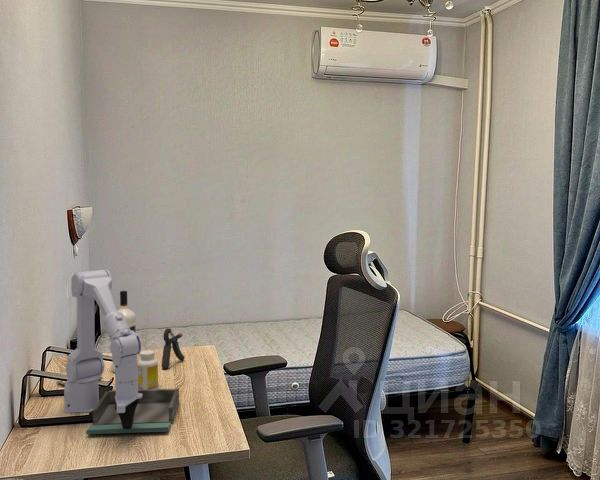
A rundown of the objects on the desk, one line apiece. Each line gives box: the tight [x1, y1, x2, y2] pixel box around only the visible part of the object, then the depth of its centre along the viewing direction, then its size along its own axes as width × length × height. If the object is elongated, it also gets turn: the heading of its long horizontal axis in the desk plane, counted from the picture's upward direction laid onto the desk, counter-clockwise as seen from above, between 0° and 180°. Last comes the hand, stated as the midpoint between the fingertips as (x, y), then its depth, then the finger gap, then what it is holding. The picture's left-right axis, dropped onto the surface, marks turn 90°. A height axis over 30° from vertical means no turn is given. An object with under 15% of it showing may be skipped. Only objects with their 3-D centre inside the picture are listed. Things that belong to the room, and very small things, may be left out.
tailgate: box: [85, 423, 172, 435], centre depth 147 cm, size 22×1×6 cm
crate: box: [92, 388, 180, 425], centre depth 159 cm, size 22×15×5 cm
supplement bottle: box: [137, 349, 159, 390], centre depth 179 cm, size 7×7×13 cm
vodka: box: [111, 290, 138, 373], centre depth 197 cm, size 9×9×30 cm
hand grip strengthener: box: [161, 327, 185, 371], centre depth 204 cm, size 2×13×15 cm, turn 158°
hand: (127, 427), depth 145 cm, fingers closed
